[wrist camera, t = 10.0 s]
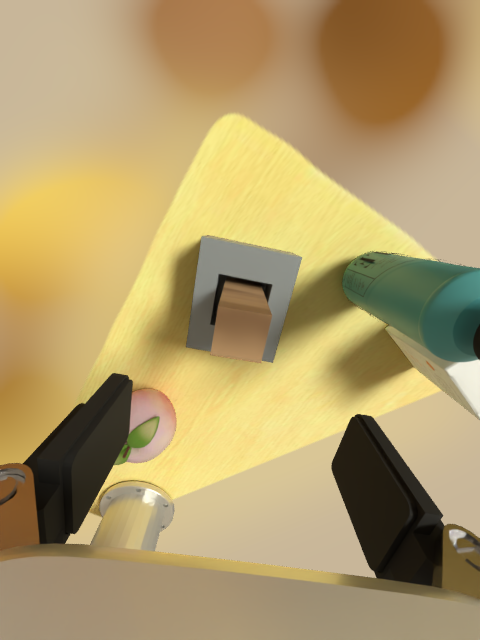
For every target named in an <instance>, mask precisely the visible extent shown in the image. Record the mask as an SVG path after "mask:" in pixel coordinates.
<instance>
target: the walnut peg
mask: <svg viewBox="0 0 480 640" xmlns="http://www.w3.org/2000/svg"><path fill="white" fill-rule="evenodd" d="M271 319H272V314H271V311H270V308H269V305H268V303H267V300H266V297H265V295H264V292H263V289H262V287H261V284H260V283H259V282H254V281H248V280H243V279H237V278H232V277H226V280H225V284H224V287H223V291H222V294H221V298H220V301H219V305H218V310H217V316H216V322H215V329H214V335H213V342H212V348H211V354H210V355H214V356H220V357H226V358H232V359H239V360H245V361H251V362H257V363H261V361H262V357H263V352H264V348H265V344H266V340H267V336H268V331H269V327H270V323H271Z"/></svg>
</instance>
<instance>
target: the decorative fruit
mask: <svg viewBox="0 0 480 640" xmlns="http://www.w3.org/2000/svg"><path fill="white" fill-rule="evenodd" d="M175 431H176V413H175V410H174V408H173V405H172V403H171V402H170V400H169V399H168V397H167V396H166V395H165V394H163V393H162V392H160V391H158V390H155V389H140V390H136V391H134V392H132V400H131V415H130V430H129V435H128V438H127V441H126V443H125V445H124V447H123V448H122V450H121V452H120V454H119V456H118V458H117V460H116V461H115V463H114V465H119V464H123V463H125V462H131V463H142V462H147V461H149V460H152V459H154V458H155V457H157V456H158V455H159V454H160V453H162V452H163V451H164V450H165V448H166V447H167V446H168V445H169V444H170V442H171V441H172V439H173V437H174V434H175Z"/></svg>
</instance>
